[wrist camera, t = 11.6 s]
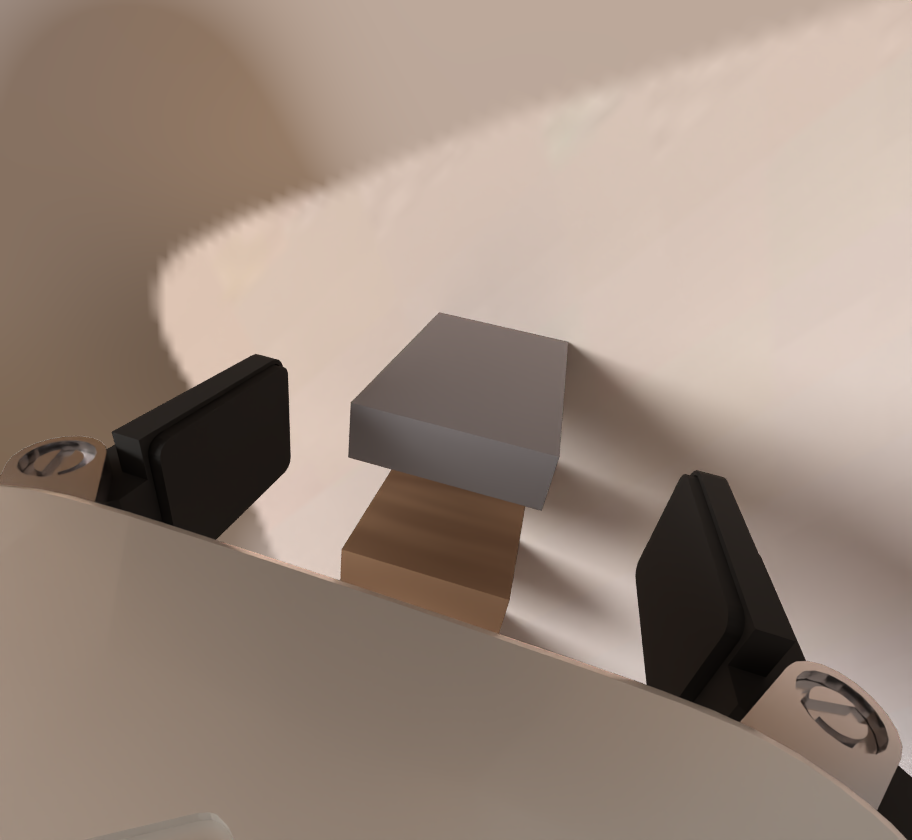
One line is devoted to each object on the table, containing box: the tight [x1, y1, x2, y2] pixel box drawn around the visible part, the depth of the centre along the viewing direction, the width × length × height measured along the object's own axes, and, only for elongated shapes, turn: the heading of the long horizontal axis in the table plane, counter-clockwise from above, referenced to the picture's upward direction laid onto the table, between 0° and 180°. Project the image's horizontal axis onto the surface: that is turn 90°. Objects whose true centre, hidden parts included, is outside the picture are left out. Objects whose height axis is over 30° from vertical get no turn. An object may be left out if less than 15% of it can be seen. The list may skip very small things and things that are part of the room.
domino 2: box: [340, 470, 525, 634], centre depth 17 cm, size 2×5×8 cm, turn 81°
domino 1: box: [348, 313, 568, 511], centre depth 15 cm, size 2×5×8 cm, turn 80°
